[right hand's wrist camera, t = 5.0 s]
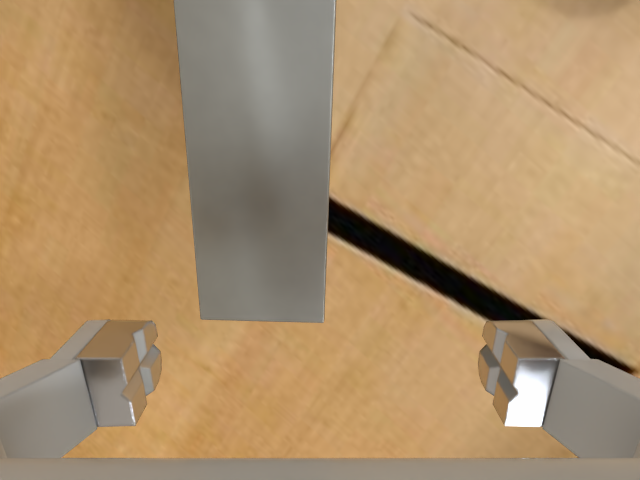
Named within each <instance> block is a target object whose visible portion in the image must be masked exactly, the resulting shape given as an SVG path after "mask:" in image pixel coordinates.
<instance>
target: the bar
mask: <svg viewBox="0 0 640 480" xmlns="http://www.w3.org/2000/svg"><path fill="white" fill-rule="evenodd" d="M174 10H175V22H176V34H177V46H178V57H179V69H180V81H181V93H182V105H183V116H184V128H185V140H186V152H187V164H188V176H189V187H190V199H191V211H192V223H193V235H194V246H195V258H196V270H197V282H198V294H199V305H200V317H201V319H202V320H237V321H274V322H310V323H323V322H324V313H325V286H326V260H327V233H328V207H329V180H330V154H331V128H332V101H333V75H334V48H335V22H336V0H174Z"/></svg>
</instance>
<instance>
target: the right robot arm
mask: <svg viewBox="0 0 640 480" xmlns="http://www.w3.org/2000/svg"><path fill="white" fill-rule="evenodd" d="M157 337H158V335H157V330H156V325H155V323H154V322H153V321H145V320H89V321H86V322H85V323H84V324H83V325H82V327H81V328H80V329H79V330H78V331H77V332H76V333H75V334H74V335H73V336H72V337H71V338H70V339H69V340H68V341H67V342H66V343H65V344H64V345H63V346H62V347H61V348H60V349H59V350H58V351H57V352H56V353H55V354H54V355H53V356H52V357H51V358H50V359H42V360H40V361H38V362H36V363H34V364H31V365H29V366H27V367H25V368H23V369H20V370H18V371H16V372H14V373H12V374H9V375H7V376H5V377H3V378H1V379H0V480H640V379H639V378H637V377H635V376H633V375H630V374H628V373H626V372H624V371H622V370H620V369H617V368H615V367H613V366H611V365H609V364H606V363H604V362H602V361H600V360H598V359H590V358H589V357H588V356H587V355H586V354H585V353H584V352H583V351H582V350H581V349H580V348H579V347H578V346H577V345H576V344H575V343H574V342H573V341H572V340H571V339H570V338H569V337H568V336H567V335H566V334H565V333H564V332H563V331H562V329H561V328H560V327H559V326H558V325H557V324H556V323H555V322H554V321H551V320H549V319H546V320H519V321H487V322H486V324H485V326H484V329H483V334H482V337H483V338H484V340H485V341H486V343H487V344H486V345H485V346H484V347H483V348H482V349H481V350H480V352H479V360H478V367H479V376H480V379H481V382H482V384H483V386H484V388H485V390H486V391H487V392H489V393H490V394H492V395H493V396H494V400H493V405H494V407H495V409H496V411H497V413H498V415H499V416H500V418H501V420H502V422H503V424H504V426H530V427H543V429H544V430H545V431H546V432H548V433H549V434H550V435H551V436H553V437H554V438H555V439H556V440H558V441H559V442H560V443H561V444H563V445H564V446H565V447H566V448H568V449H569V450H570V451H571V452H573V453H574V454H575V455H576V456H578V457H579V458H61V457H63V456H64V455H65V454H66V453H68V452H69V451H70V450H71V449H73V448H74V447H75V446H76V445H78V444H79V443H80V442H81V441H83V440H84V439H85V438H86V437H88V436H89V435H90V434H91V433H93V432H94V431H95V430H96V429H97V427H110V426H136V424H137V422H138V420H139V418H140V416H141V415H142V413H143V411H144V409H145V407H146V405H147V400H146V396H147V395H148V394H150V393H151V392H153V391H154V390H155V388H156V386H157V384H158V382H159V379H160V374H161V370H162V359H161V352H160V351H159V349H158V348H157V347H156V346H155V345H154V344H153V343H154V341H155V340H156V338H157Z"/></svg>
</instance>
